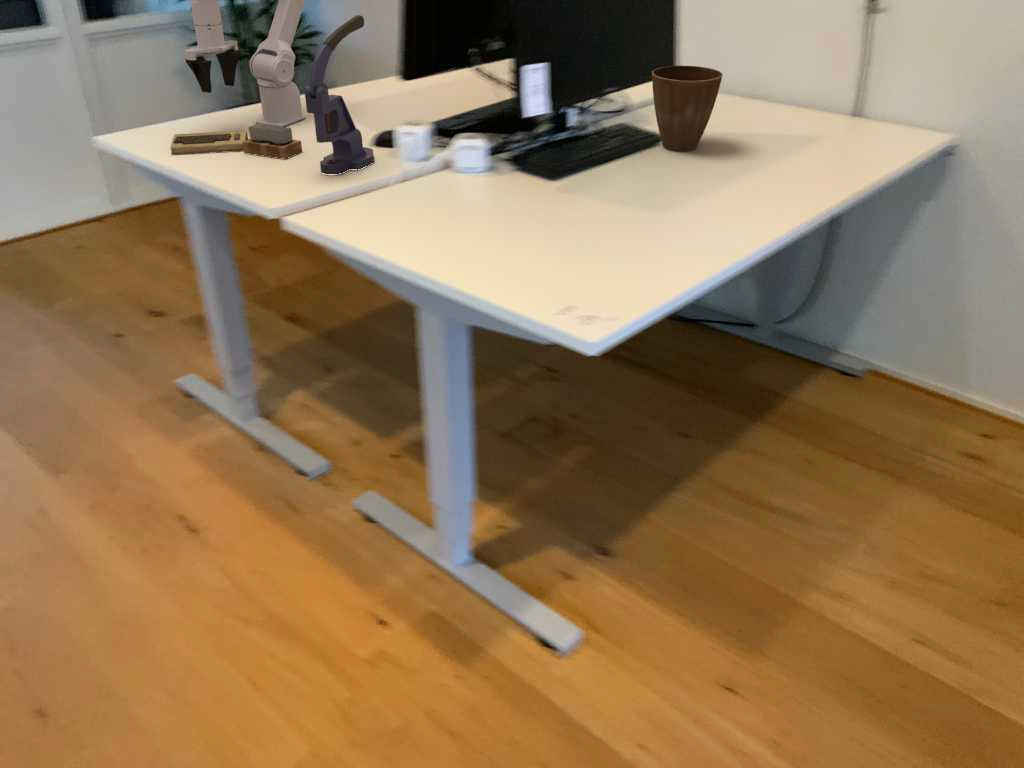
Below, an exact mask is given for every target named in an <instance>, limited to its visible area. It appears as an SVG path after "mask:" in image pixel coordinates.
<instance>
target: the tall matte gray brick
mask: <svg viewBox="0 0 1024 768" xmlns="http://www.w3.org/2000/svg"><path fill="white" fill-rule="evenodd" d="M248 133H249V137H250V138H249V139H251V138H252V139H254V142H256V143H265V142H267V141H272V142H273V145H276V146H283V145H286V144H288V143H289V141H291V140H294V139H293V133H292V128H291V127H286V126H284V127H280V126H273V125H266V124H258V123H255V124H252V125H250V126H248Z"/></svg>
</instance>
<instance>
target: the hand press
mask: <svg viewBox="0 0 1024 768" xmlns="http://www.w3.org/2000/svg"><path fill="white" fill-rule="evenodd" d="M364 26H365V19H364V16H363V15H358V14H357V15H355V16H353V17H352V18H351V19H349V20H347V21H346V22H345V23H343V24H342V25H341V26H339V27H338V28H337V29H335V30H334V31H333V32H332V33H331V34H329V36H327V38H326V39H325V40H324V41H323V42H322V45H321V46H320V48H319V49H318V52H317V53H316V55H315V57H314V59H313V62H312V65H311V71H310V76H309V85H306V86H305V88H304V97H305V108H306V114H307V113H308V114H313V121H314V129H315V138H316V142H317V143H320V144H321V143H331V145H332V153H329V154H328V155H326V156H323V159H322V160H320V162H319V168H320V173H321V172H322V173H325V174H339V173H343V172H345V171H347V170H349V169H357V170H358V169H361V168H363V167H365V166H368V165H370V164H371V163H373V162H374V163H375V156H374V149H372V148H371V147H365V146H363V135H362V133H361V130H360V129H359V128H356V125H355V122H354V120H353V119H352V115H351V114H350V112H349V111H350V110H349V109H348V106H347V104H346V102H345V100H344V98H343V96H342V95H337V94H329V88H328V84H326V83H324V79H325V74H326V71H327V70H326V69H327V66H328V62H329V61H330V57H331V55H332V54H333V52H334V51H335V50H336V48H337V46H338V45H339V44H340V42H342V41H343V39H345V38H346V37H347V36H349V34H352V33H353V32H355V31H358V30H359V29H362V28H363V27H364ZM374 163H373V164H374ZM371 165H372V164H371ZM371 165H370V166H371ZM368 167H369V166H368ZM349 171H350V170H349ZM347 172H348V171H347ZM322 173H321V174H322ZM345 173H346V172H345ZM343 174H344V173H343Z"/></svg>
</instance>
